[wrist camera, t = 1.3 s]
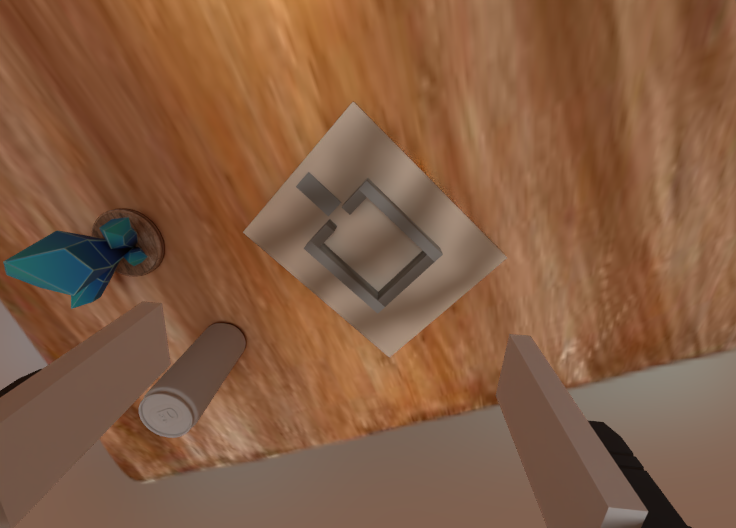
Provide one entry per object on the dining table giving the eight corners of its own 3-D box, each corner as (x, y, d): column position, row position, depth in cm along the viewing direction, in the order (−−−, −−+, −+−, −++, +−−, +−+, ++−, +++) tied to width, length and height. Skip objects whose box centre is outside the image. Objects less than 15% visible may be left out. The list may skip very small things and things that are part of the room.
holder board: (247, 229, 37) (234, 238, 34) (354, 102, 32) (350, 99, 29) (389, 351, 41) (389, 368, 38) (503, 253, 36) (513, 265, 33)
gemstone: (76, 223, 38) (-57, 262, 27) (148, 197, 36) (38, 228, 25) (114, 285, 40) (6, 346, 29) (182, 264, 39) (97, 319, 28)
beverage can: (197, 328, 41) (125, 403, 30) (233, 313, 40) (172, 385, 29) (220, 362, 43) (159, 445, 32) (255, 348, 42) (205, 429, 31)
